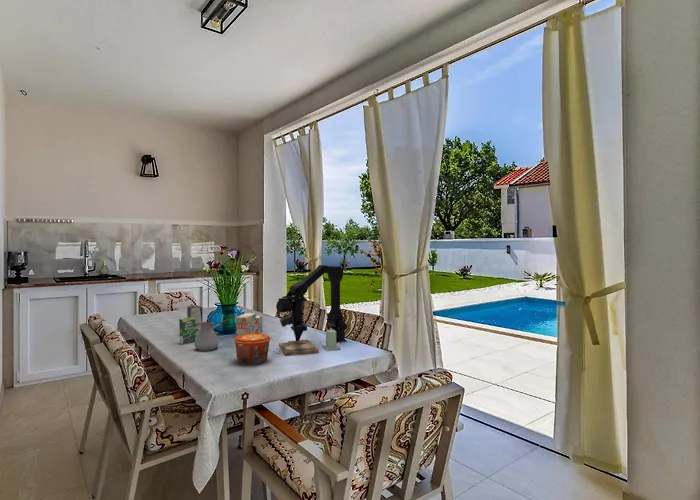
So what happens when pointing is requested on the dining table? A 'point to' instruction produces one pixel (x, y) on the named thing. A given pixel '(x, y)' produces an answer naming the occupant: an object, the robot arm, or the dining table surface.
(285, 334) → the dining table surface
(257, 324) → the stack of blocks
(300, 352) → the well board
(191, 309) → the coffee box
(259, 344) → the food container
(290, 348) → the sliding lid
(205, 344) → the coffee pot
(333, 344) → the sage block
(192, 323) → the coffee box
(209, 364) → the dining table surface
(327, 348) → the rubber mat
